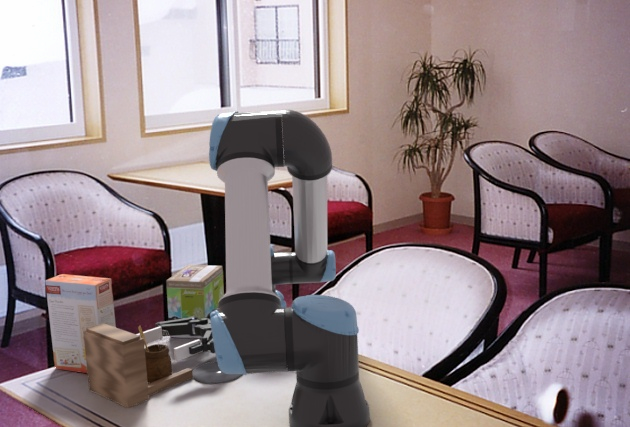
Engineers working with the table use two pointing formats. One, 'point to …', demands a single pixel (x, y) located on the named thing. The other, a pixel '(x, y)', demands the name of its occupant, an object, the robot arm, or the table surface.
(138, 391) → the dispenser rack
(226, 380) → the plate
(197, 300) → the tea box
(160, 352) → the utensil holder
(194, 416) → the table surface
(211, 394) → the table surface
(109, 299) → the cracker box
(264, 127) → the robot arm
